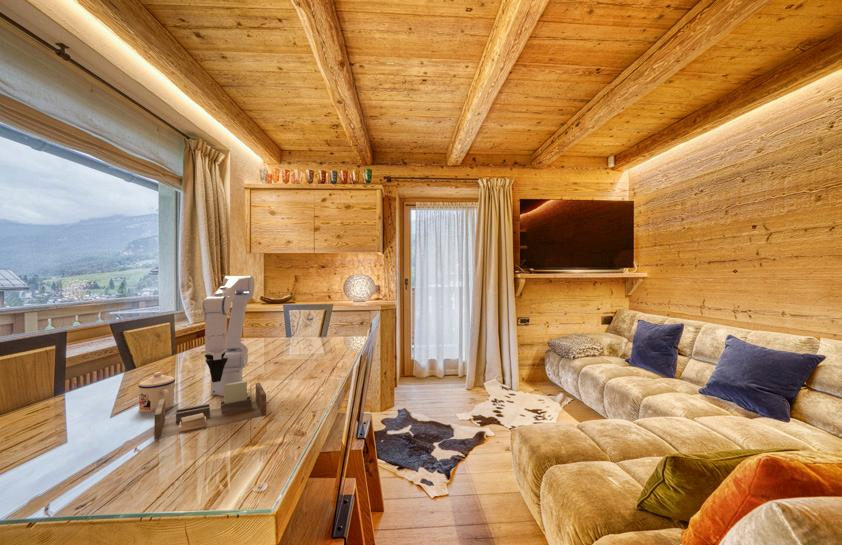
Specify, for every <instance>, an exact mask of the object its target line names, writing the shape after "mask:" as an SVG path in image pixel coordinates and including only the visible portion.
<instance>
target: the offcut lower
mask: <svg viewBox="0 0 842 545" xmlns="http://www.w3.org/2000/svg"><path fill="white" fill-rule="evenodd" d="M204 426H206V417H205V421H203V422H199V423H195V424H191V425H187V426H183V427H182V424H181V422H180V424H179V432H181V431H185V430H190V429H195V428H199V427H204Z"/></svg>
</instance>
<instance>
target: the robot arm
mask: <svg viewBox="0 0 842 545" xmlns="http://www.w3.org/2000/svg"><path fill="white" fill-rule="evenodd" d="M222 280H223V281H222V286H220V287H219V288H218V289H217V290H216V291H214V293H213V294H212V295H211V296H207V297H206V298H203V300H202V304H201V305H202V306H201V311H202V316H203V321H204V322H205V323H204V325H205V327H204V334H205V335H204V338H205V339H204V340H205V341H204V349H201V350H200V354H204V357H205V363H206V364H207V367H208V369H209V373H210V374H209V375H210V395H214V396H221V397H224V384H229V383H235V382H241V381H243V369H244V368H246V367H247V364H248V360H249V358H248V357H249V356H248V353H249V352H248V347H247V345H246V344H244V343H242V336H243V335H242V334H243V330H244V329H243V328H244V322H245V315H246V308H247V305H248V302H249V301H250V300H252V299H253V297H254V294H255V293H254V292H255V278H254V276H253V275H225V276H224V277H223V279H222ZM231 303H232V304H231ZM231 306H232V307H231ZM230 308H231V309H230ZM230 310H231V312H230ZM229 312H230V316H229V322H228V318H227V317H228V315H229ZM227 327H228V328H227Z"/></svg>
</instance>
